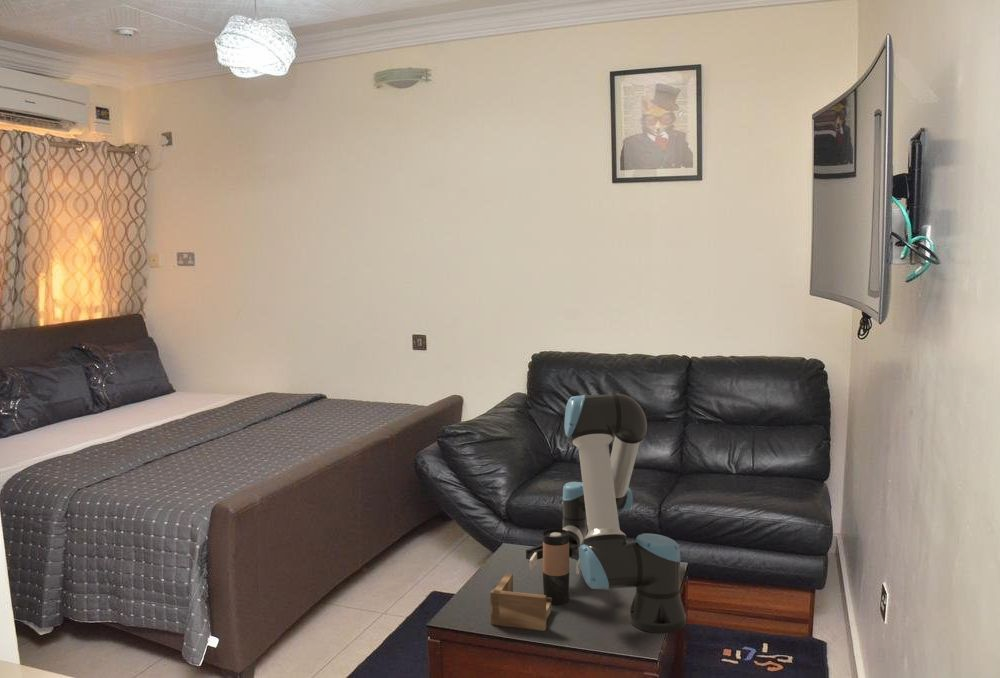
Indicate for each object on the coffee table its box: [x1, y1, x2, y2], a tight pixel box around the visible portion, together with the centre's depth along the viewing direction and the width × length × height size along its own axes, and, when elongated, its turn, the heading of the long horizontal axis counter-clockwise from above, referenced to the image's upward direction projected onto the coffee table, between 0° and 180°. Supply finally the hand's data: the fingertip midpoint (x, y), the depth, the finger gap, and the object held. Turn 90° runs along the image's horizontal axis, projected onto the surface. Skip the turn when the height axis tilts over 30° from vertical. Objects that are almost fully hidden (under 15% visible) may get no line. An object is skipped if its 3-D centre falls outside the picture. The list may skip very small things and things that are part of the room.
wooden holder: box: [489, 572, 552, 632], centre depth 230 cm, size 14×15×9 cm
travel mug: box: [542, 528, 570, 606], centre depth 240 cm, size 8×8×20 cm
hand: (553, 567), depth 237 cm, fingers open, 13 cm apart
